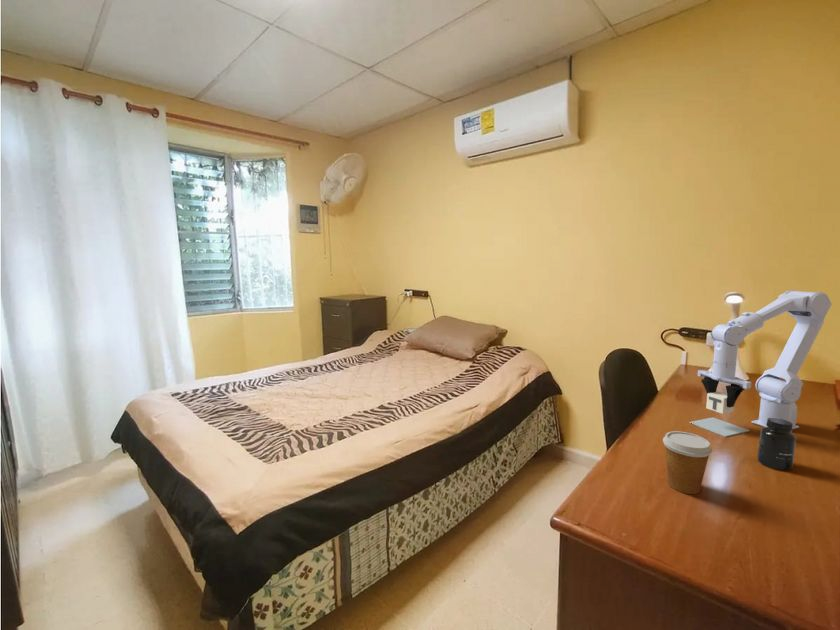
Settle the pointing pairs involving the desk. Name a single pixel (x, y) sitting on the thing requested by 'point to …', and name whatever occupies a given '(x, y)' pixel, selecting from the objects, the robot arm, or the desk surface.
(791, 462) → the supplement bottle
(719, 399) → the letter block
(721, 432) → the slate mat
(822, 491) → the desk surface
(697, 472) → the disposable coffee cup
